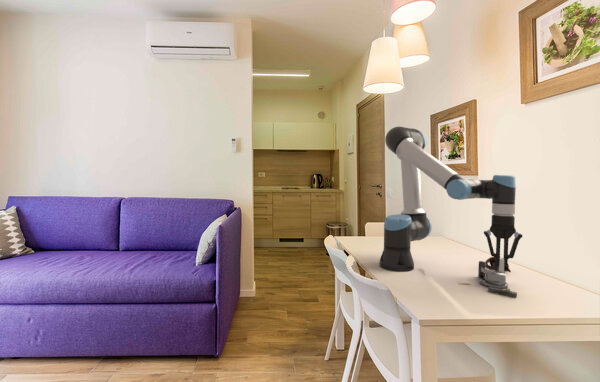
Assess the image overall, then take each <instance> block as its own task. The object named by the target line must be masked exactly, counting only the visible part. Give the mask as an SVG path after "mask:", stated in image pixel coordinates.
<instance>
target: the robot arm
mask: <svg viewBox="0 0 600 382" xmlns="http://www.w3.org/2000/svg"><path fill="white" fill-rule="evenodd" d="M384 142H385V145H386V147H387V149H388V150H390V151H391V152H392V153H393V154H395V155H396V156H397V159H398V160H400V169H401V182H402V185H401V187H402V199H403V200H402V203H403V210H402V211H401V212H400V214H398V213H397V214H391V215H387V216H386V217H385V218H384V224H383V251H382V252H381V256H380V259H379V267H380V268H383V269H385V270H388V271H395V272H407V271H412V270H414V269H415V262H414V259H413V256H412V252H411V244H412V243H411V242H416V241H421V240H423V239H426V238H427V237H428V236H429V235H430V234H431V232H432V228H433V226H432V223H431V220H430V219H429V218H428V217H427V211H426V210H425V209H424V208H423V197H422V196H423V195H422V180H421V179H422V177H421V172H422V173H424V174H425V175H426V176H427V177H429V178H430V179H432V180H433V181H434V182H435V183H436V184H438V185H439V186H441V187H442V188H443V189H444V190H446V193H447V195H448V197H449V198H451V199H452V200H453V199H454V200H459V201H461V200H463V201H464V200H468V199H469V200H470V199H486V200H487V199H489V200H490V199H491V200H492V201H491V213H492V214H491V226H490V227H489V229H488V230H484V231H483V234H484V236H485V237H486V241H487V244H488V248H489V249H488V250H489V253H490V255H491V256H490V257H495V258H496V266H498V267H499V271H502V272H505V271H504V267H507V264H509V261H508V260H510V259H514V257H515V254H516V250H517V248H518V245H519V241H520V240H521V239H522V238H523V234H522V233H519V232H518V231H517V230H516V227H515V219H516V218H515V214H516V189H517V184H516V176H514V175H513V174H494V175H493V176H492V179H466V178H465V177H463V176H462V175H461V174H459V173H457V172H456V171H455V170H453V169H452V168H450V167H449V166H448V165H446V164H444V162H442V161H440V160H439V159H438V158H436V157H435V156H433V155H432V154H431V153H429V152H428V151H427V150H425V148H426V146H427V139H426V136H425V134H424V133H423V132H422V131H421V130H419V129H417V128H414V127H413V128H409V127H405V126H395V127H392V128H391V129H390V130H388V132H387V133H386V135H385V138H384ZM492 234H493V236H494V237H495V241H496V242H495V251H494V247H493V243H492V239H491V235H492ZM513 235H514V239H513V242H512V244H511V248H510V251H509V240H510V239H511V238H512V236H513ZM501 239H503V257H501V241H502V240H501ZM500 257H501V258H500Z"/></svg>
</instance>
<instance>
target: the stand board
mask: <svg viewBox="0 0 600 382" xmlns="http://www.w3.org/2000/svg"><path fill="white" fill-rule="evenodd" d="M457 284H458V285H462V286H463V285H465V286H472V284H471V283H468V282H467V283H465V282H457ZM487 289H488V290H487V291H488V293H492V294H496V295H500V296H505V297H509V298H513V299H514V298H515V299H516V298H517V297H518V292H516V291H513V290H512V291H511V289H510V288H509V287H508V288H506V289H499V288H494V287H487Z"/></svg>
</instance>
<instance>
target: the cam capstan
mask: <svg viewBox="0 0 600 382" xmlns="http://www.w3.org/2000/svg"><path fill="white" fill-rule="evenodd" d="M477 274H478V275H477V276H478V277H479V278H480V279H479V284H480V285H481V286H483V287H487V288H489V287H494V288H499V289H503V290H505V289H506V288H508V289H509V284H508V283H507V274H506V271H504V272H502V271H498V270H490V269H488V268H486V261H483V260H479V261H478V273H477Z"/></svg>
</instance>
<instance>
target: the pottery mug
mask: <svg viewBox="0 0 600 382" xmlns="http://www.w3.org/2000/svg"><path fill="white" fill-rule="evenodd" d="M500 258H502V257H501V256H500ZM485 262H486V268H488V269H490V270H498V271H499V267H498V266H496V258H495V257H493V256H490V257H488V258H487V259H486V260H485ZM506 271H508V272H509V273H511V272H512V271H511V269H510V265H509V263H508V264H507V267H504V272H506Z"/></svg>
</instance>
